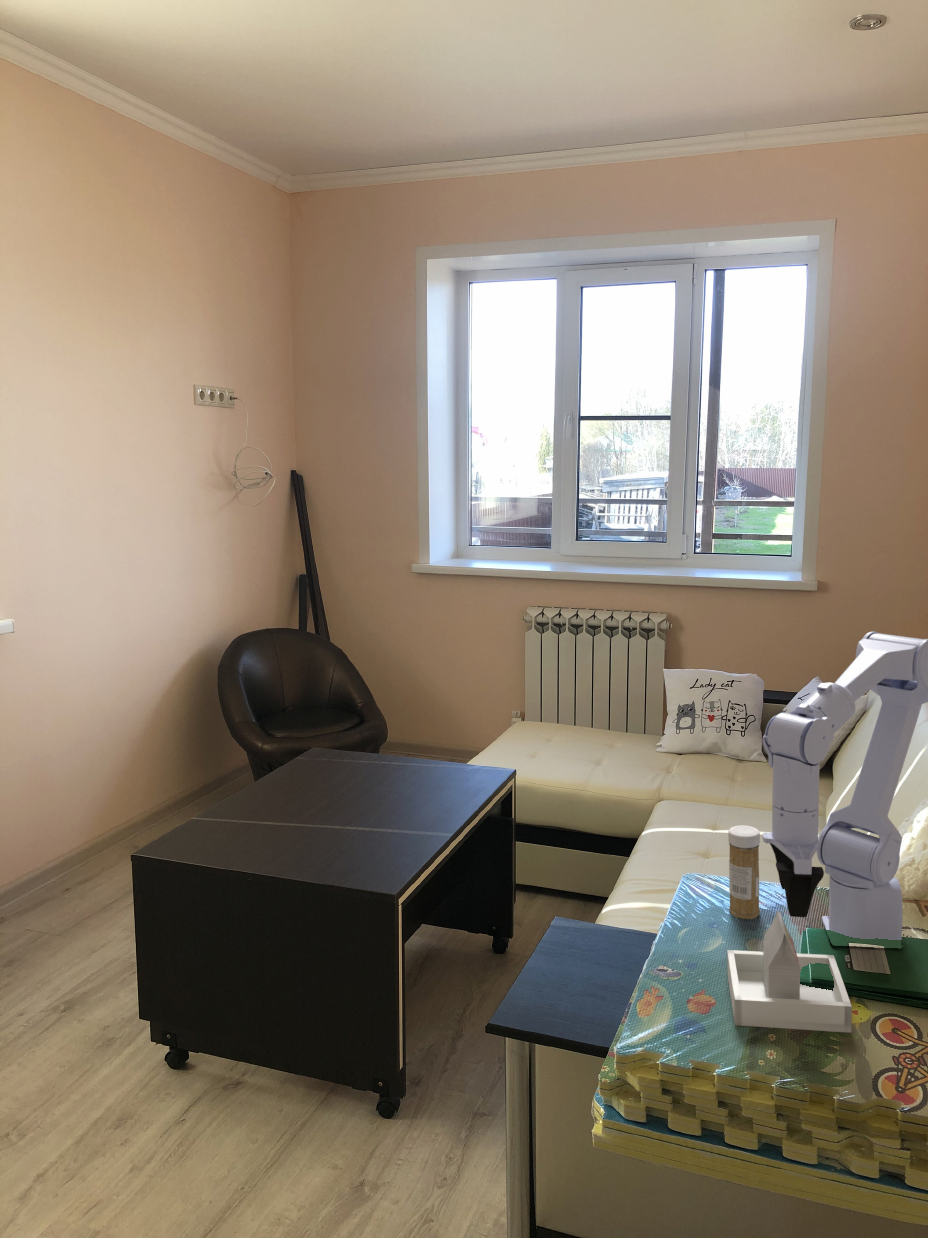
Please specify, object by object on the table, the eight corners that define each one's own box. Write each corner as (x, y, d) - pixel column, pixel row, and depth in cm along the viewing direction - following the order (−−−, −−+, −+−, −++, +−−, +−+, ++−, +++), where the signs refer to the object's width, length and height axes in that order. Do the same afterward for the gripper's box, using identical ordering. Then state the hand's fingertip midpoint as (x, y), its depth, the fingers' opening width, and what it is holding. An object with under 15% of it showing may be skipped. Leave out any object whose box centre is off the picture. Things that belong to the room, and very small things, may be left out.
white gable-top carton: (768, 1009, 118) (768, 936, 116) (763, 979, 124) (763, 909, 123) (799, 1011, 117) (800, 937, 115) (792, 981, 124) (793, 911, 122)
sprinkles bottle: (766, 914, 143) (766, 830, 141) (745, 923, 141) (746, 839, 138) (742, 903, 147) (742, 821, 144) (722, 912, 144) (721, 829, 142)
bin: (833, 979, 125) (833, 955, 125) (851, 1032, 114) (851, 1006, 114) (727, 973, 128) (727, 950, 127) (734, 1025, 117) (734, 999, 116)
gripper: (757, 784, 131) (756, 876, 133) (770, 825, 117) (768, 927, 119) (810, 785, 129) (808, 878, 132) (830, 827, 115) (827, 930, 118)
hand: (793, 901), depth 125 cm, fingers open, 7 cm apart
